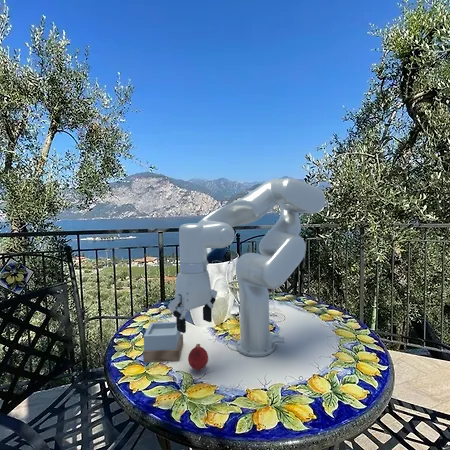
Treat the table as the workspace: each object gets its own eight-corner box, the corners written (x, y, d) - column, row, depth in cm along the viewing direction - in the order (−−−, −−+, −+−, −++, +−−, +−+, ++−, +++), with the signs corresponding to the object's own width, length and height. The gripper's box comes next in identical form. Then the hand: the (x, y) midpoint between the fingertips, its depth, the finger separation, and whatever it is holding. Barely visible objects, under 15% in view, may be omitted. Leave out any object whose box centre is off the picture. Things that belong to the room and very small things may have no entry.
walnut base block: (183, 345, 107) (182, 334, 106) (179, 362, 96) (178, 350, 95) (151, 346, 107) (150, 335, 106) (143, 364, 96) (142, 351, 95)
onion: (205, 377, 87) (204, 350, 86) (186, 375, 88) (184, 348, 87) (210, 365, 92) (209, 340, 92) (192, 364, 94) (191, 338, 93)
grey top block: (180, 334, 106) (180, 321, 105) (176, 349, 96) (175, 334, 95) (151, 336, 106) (150, 322, 105) (144, 351, 96) (143, 336, 95)
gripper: (207, 260, 96) (208, 314, 97) (159, 270, 83) (161, 332, 85) (224, 264, 91) (225, 320, 92) (176, 275, 78) (178, 340, 80)
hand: (194, 326), depth 88 cm, fingers open, 9 cm apart
